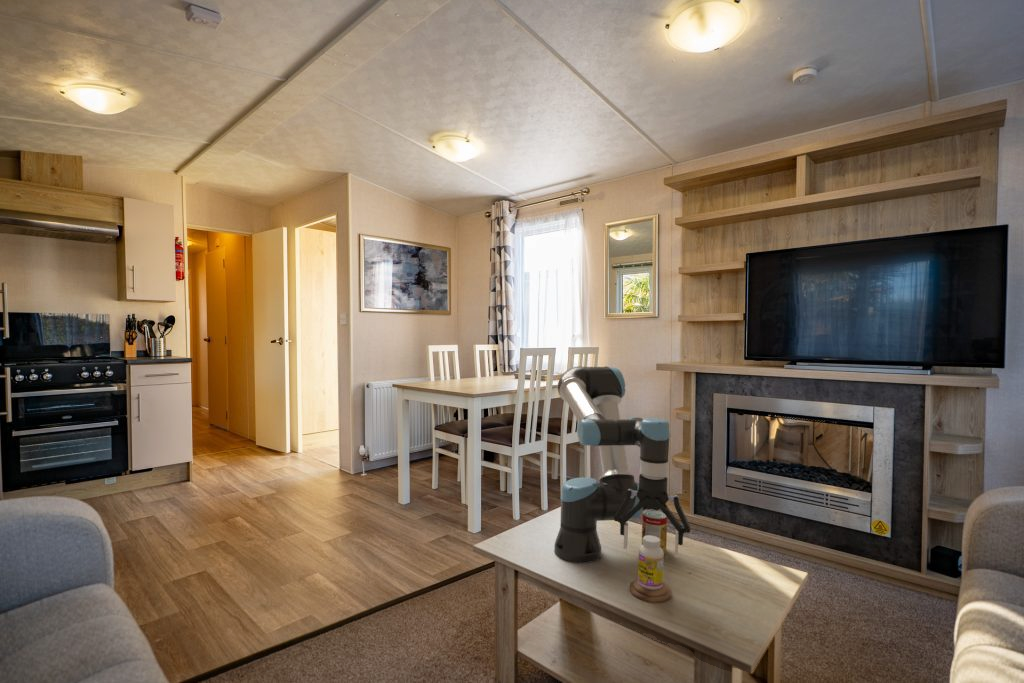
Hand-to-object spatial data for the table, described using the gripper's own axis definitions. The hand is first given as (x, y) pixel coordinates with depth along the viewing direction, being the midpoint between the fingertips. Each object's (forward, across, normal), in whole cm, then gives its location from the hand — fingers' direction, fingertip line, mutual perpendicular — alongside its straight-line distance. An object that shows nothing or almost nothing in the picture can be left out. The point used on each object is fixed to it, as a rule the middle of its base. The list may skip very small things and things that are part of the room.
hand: (650, 551), depth 139 cm
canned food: (+12, +1, -28) cm, 31 cm away
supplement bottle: (+9, 0, +1) cm, 9 cm away
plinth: (+11, 0, +1) cm, 11 cm away
